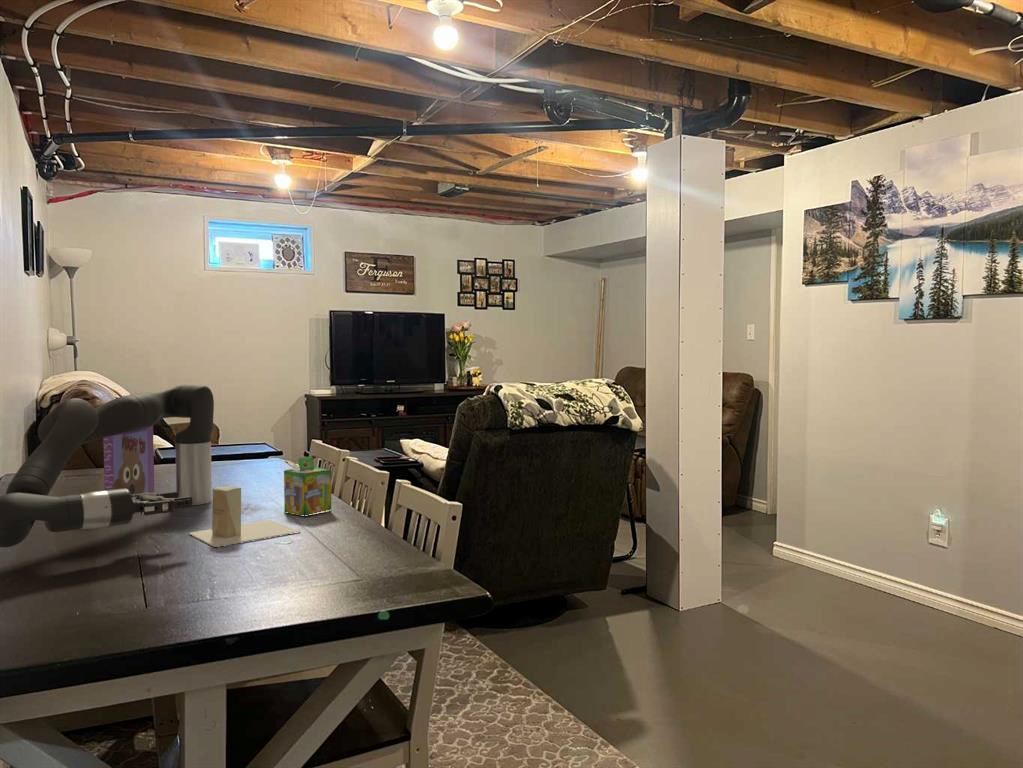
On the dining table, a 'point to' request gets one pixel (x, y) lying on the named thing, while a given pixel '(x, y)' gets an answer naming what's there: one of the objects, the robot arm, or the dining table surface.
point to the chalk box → (307, 489)
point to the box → (226, 511)
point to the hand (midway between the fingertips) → (184, 498)
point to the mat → (245, 533)
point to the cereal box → (130, 461)
